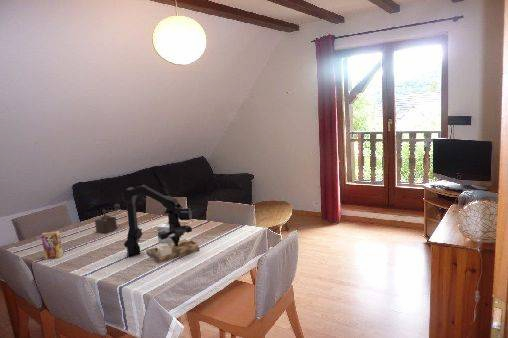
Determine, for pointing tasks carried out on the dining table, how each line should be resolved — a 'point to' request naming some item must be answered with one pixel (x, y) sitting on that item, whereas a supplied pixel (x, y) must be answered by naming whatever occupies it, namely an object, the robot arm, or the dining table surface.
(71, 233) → the dining table surface
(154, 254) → the deck
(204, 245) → the dining table surface
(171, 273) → the dining table surface
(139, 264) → the dining table surface
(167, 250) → the cream block
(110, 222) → the brown box
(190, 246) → the cubby
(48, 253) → the candy box
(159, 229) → the light bulb box
